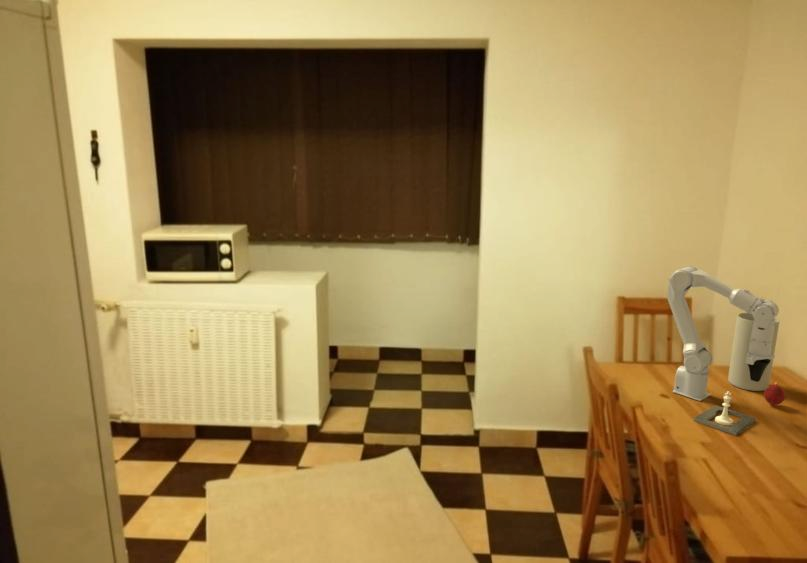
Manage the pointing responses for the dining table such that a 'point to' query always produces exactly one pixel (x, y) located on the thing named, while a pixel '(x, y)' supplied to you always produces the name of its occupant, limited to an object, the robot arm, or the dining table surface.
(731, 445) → the dining table surface
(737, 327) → the cylinder vase
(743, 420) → the keyhole plate
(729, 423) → the chess piece
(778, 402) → the onion
